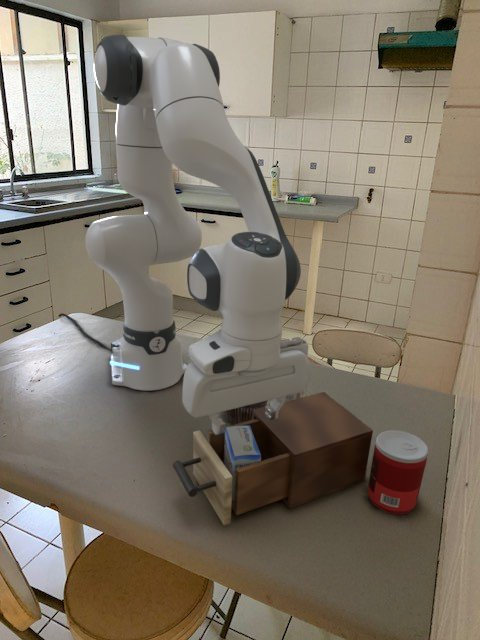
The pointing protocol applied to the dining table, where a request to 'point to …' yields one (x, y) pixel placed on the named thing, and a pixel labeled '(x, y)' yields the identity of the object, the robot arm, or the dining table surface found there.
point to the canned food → (397, 471)
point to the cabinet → (319, 446)
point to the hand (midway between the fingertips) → (245, 424)
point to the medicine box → (239, 450)
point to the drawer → (237, 473)
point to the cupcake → (243, 412)
